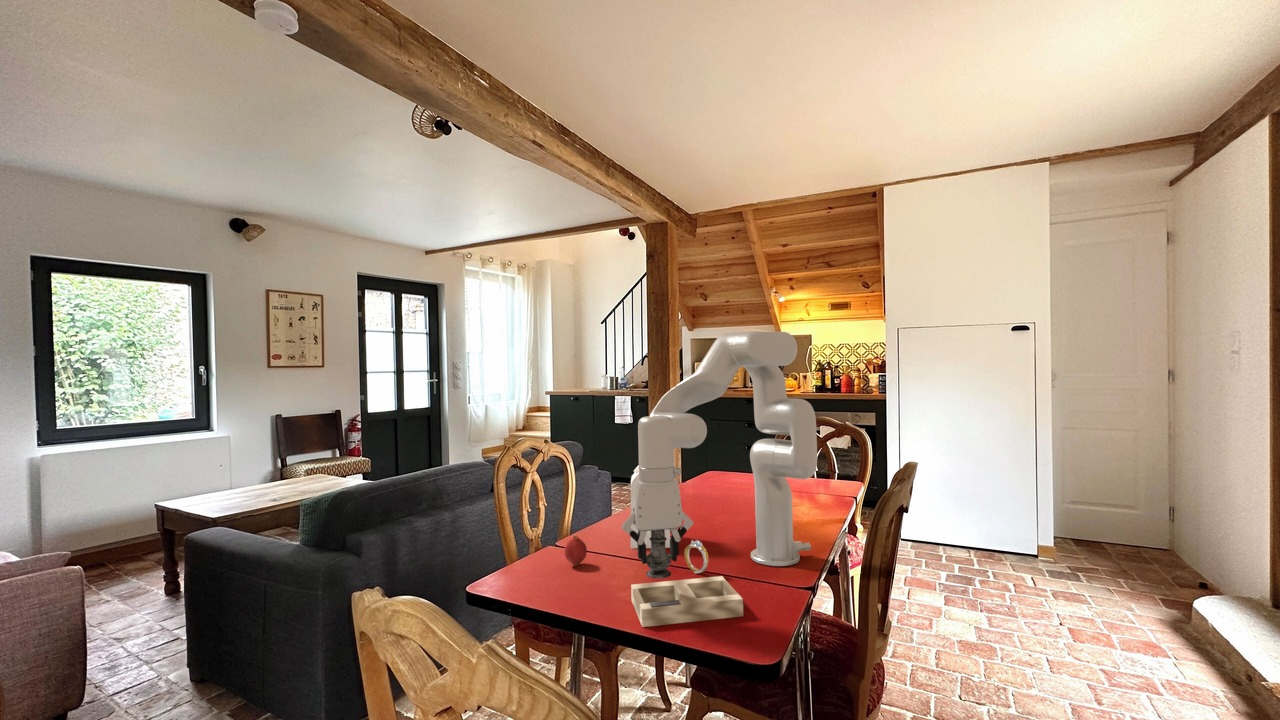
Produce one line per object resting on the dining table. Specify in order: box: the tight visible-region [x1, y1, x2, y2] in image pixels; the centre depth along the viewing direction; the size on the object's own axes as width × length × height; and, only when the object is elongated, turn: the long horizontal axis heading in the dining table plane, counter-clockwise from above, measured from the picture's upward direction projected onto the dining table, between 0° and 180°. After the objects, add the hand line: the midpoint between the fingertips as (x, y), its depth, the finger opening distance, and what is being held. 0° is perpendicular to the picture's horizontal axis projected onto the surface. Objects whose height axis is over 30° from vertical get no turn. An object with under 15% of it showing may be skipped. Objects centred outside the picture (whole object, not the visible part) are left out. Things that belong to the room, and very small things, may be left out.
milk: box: [630, 464, 671, 549], centre depth 165 cm, size 12×12×26 cm
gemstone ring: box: [683, 539, 709, 574], centre depth 138 cm, size 7×3×8 cm, turn 38°
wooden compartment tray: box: [630, 575, 744, 628], centre depth 118 cm, size 21×13×4 cm, turn 100°
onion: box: [564, 534, 588, 567], centre depth 146 cm, size 6×6×8 cm
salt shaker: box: [646, 530, 672, 580], centre depth 117 cm, size 6×6×12 cm
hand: (658, 559), depth 117 cm, fingers closed on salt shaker, 5 cm apart
